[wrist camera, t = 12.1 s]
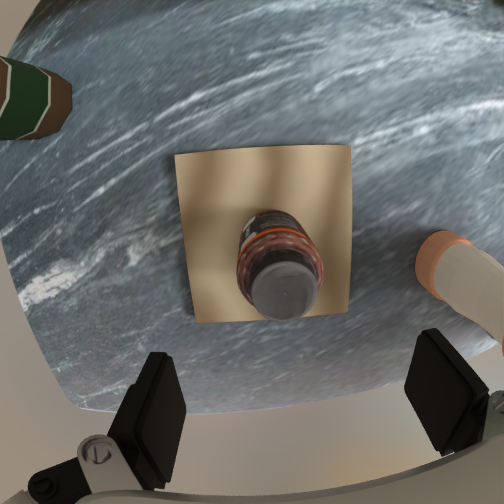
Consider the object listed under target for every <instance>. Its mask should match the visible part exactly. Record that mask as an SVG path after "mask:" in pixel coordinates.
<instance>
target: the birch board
mask: <svg viewBox="0 0 504 504" xmlns="http://www.w3.org/2000/svg"><path fill="white" fill-rule="evenodd" d="M175 166H176V177H177V187H178V197H179V206H180V215H181V223H182V231H183V239H184V246H185V254H186V261H187V268H188V275H189V281H190V287H191V294H192V300H193V306H194V312H195V318H196V323H213V322H236V321H255V320H269V319H268V318H265V317H264V316H262V315H261V314H260V313H259V312H258V311H257V310H256V308H255V307H254V306H252V305H251V304H250V303H249V302H248V301H247V300H246V299H245V298H244V296H243V295H242V293H241V291H240V289H239V287H238V283H237V276H236V268H237V259H238V252H239V243H240V237H241V233H242V230H243V228H244V226H245V225H246V223H247V222H248V221H249V219H251V218H252V217H253V216H254V215H256V214H257V213H260V212H262V211H265V210H280V211H284V212H287V213H289V214H290V215H292V216H293V217H294V218H295V219H296V220H297V221H298V222H299V223H300V224H301V226H302V227H303V229H304V230H305V232H306V233H307V235H308V236H309V237H310V239H311V240H312V242H313V243H314V245H315V246H316V248H317V249H318V251H319V253H320V255H321V259H322V262H323V267H324V274H323V281H322V284H321V287H320V289H319V291H318V296H317V299H316V302H315V304H314V305H313V307H312V308H311V310H310V311H309V312H307V313H306V314H305V315H304V316H302V317H308V316H319V315H329V314H339V313H348V303H349V289H350V272H351V249H352V167H351V145H294V146H269V147H252V148H238V149H226V150H215V151H205V152H196V153H187V154H179V155H175Z"/></svg>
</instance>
